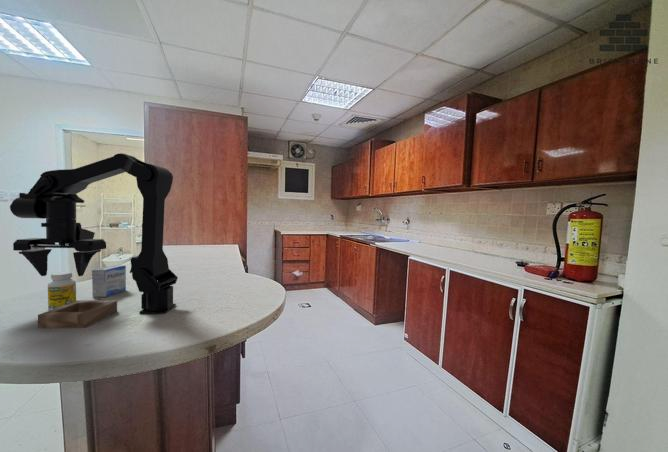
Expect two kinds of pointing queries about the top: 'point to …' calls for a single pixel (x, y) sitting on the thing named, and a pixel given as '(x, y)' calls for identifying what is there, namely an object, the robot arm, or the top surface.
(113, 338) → the top surface
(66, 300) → the supplement bottle
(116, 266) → the medicine box
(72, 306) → the socket block
